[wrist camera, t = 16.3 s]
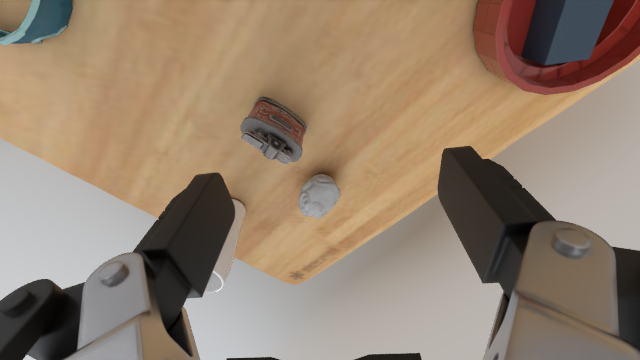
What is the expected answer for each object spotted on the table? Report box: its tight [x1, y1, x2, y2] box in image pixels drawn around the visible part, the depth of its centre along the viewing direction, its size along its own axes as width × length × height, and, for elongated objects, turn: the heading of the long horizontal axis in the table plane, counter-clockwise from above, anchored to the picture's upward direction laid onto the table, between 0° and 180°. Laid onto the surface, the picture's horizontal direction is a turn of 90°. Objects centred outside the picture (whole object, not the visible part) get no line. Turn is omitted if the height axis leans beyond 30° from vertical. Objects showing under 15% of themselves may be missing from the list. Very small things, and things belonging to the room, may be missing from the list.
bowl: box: [474, 0, 640, 95], centre depth 27 cm, size 17×17×6 cm
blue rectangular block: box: [521, 0, 614, 65], centre depth 27 cm, size 10×4×4 cm, turn 8°
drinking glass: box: [204, 199, 246, 293], centre depth 42 cm, size 7×7×15 cm
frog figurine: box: [299, 174, 340, 218], centre depth 42 cm, size 6×7×7 cm
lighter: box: [241, 97, 306, 165], centre depth 34 cm, size 8×3×10 cm, turn 55°
